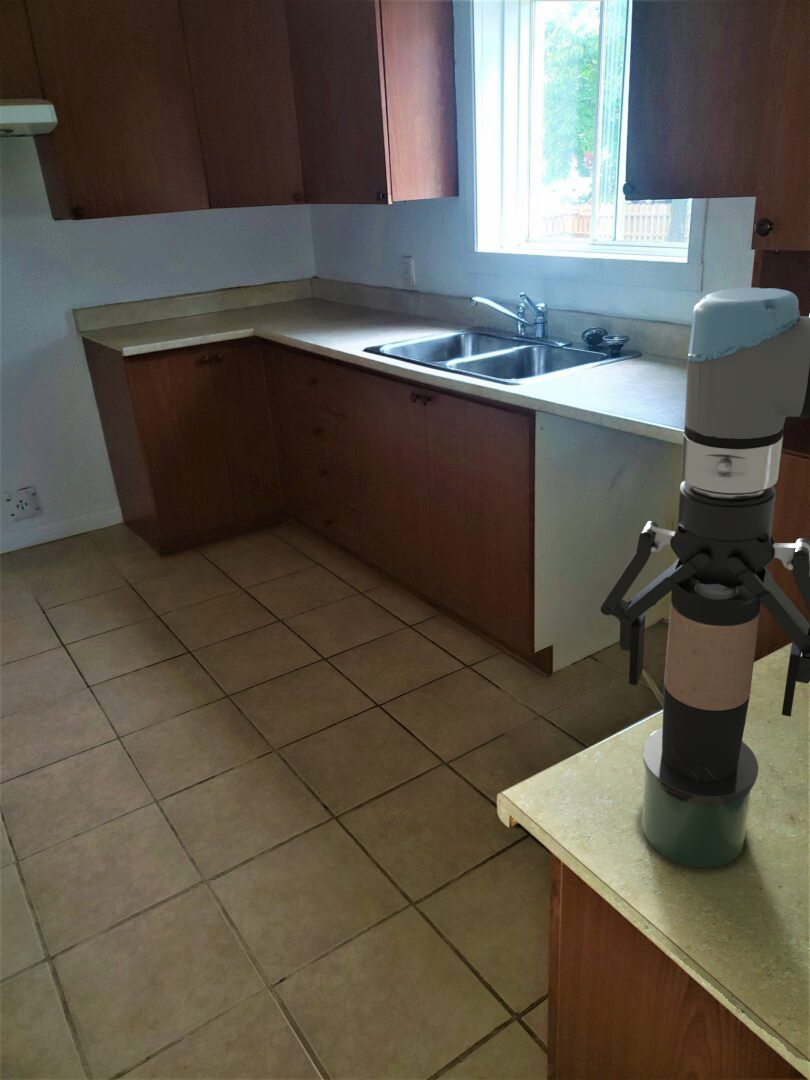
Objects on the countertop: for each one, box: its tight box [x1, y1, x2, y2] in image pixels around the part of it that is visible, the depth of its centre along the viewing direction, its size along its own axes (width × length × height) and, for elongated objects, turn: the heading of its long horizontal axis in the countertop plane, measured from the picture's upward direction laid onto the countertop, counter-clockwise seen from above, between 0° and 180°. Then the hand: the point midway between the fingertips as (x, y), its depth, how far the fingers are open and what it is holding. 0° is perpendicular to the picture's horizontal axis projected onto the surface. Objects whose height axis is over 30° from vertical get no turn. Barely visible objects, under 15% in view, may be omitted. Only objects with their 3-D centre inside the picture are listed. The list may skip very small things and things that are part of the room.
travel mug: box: [661, 576, 762, 782], centre depth 76 cm, size 8×8×20 cm
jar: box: [641, 727, 759, 869], centre depth 83 cm, size 11×11×10 cm
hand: (708, 691), depth 77 cm, fingers open, 13 cm apart
